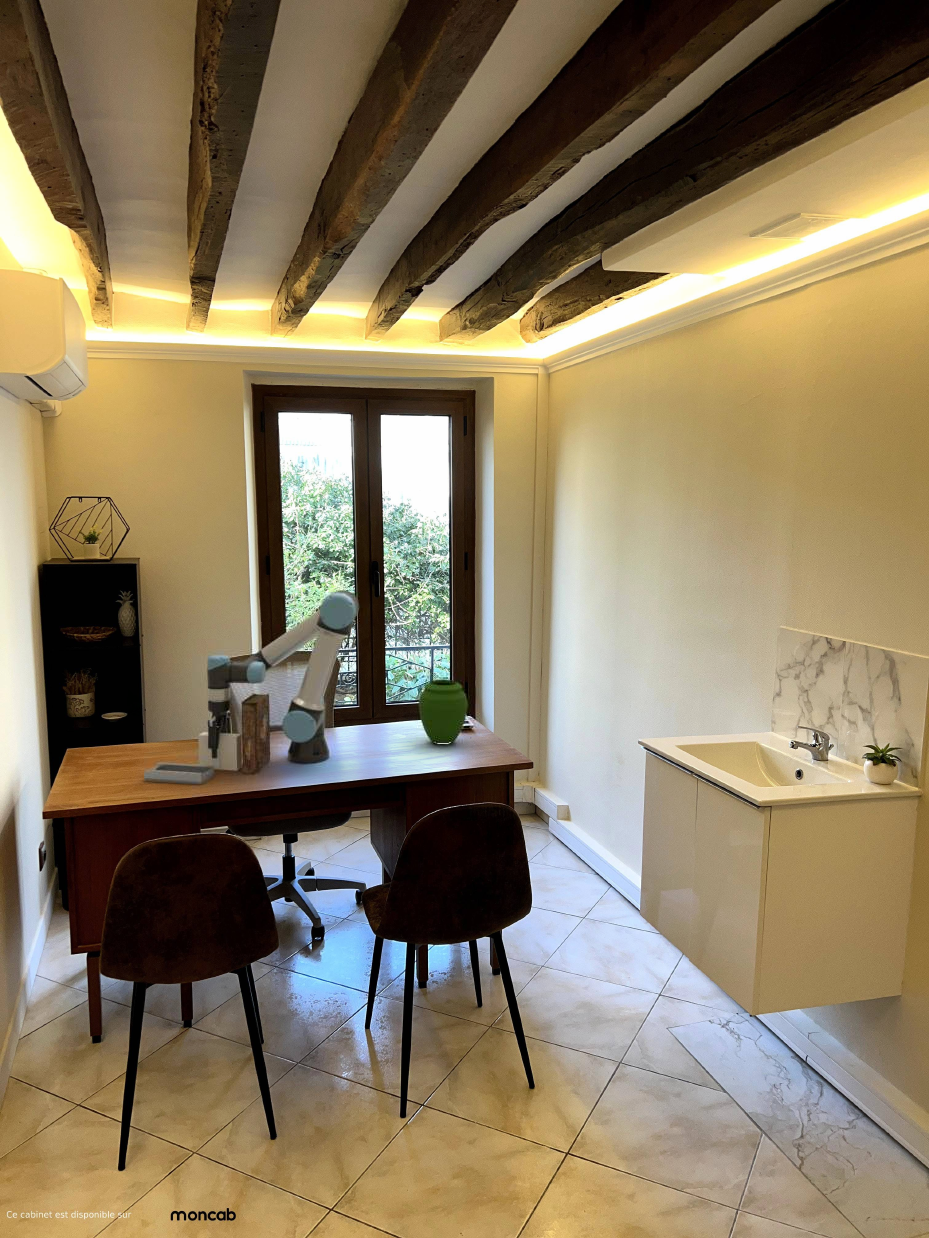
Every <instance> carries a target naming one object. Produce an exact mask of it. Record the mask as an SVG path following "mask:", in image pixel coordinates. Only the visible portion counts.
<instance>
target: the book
mask: <svg viewBox="0 0 929 1238" xmlns="http://www.w3.org/2000/svg"><path fill="white" fill-rule="evenodd" d="M270 716H271V715H270V694H269V693H266V694H258V693H254V692H253V693H252V694H250V696H248V697H246V698H245V699H244V700H243V701H241V752H242V774H244V775H257V774H259V773H260V772H261V771H262V770H263V769H264V768H265V767H266V766H267V765H268V763H269V762H270V760H271V741H270V740H271V736H270V735H271V729H270V727H271V724H270V722H271V721H270V719H271V718H270Z"/></svg>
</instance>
